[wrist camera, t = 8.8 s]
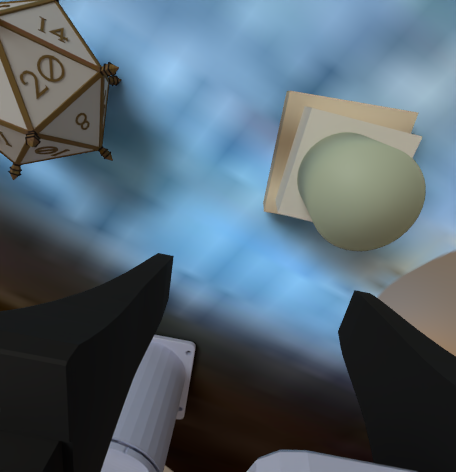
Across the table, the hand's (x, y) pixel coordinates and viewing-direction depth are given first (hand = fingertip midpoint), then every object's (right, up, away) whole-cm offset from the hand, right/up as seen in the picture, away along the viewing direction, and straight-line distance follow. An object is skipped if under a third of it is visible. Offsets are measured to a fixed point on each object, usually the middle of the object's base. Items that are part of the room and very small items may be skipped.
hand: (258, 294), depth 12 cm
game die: (-11, +11, +7) cm, 17 cm away
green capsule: (+5, +5, +4) cm, 8 cm away
